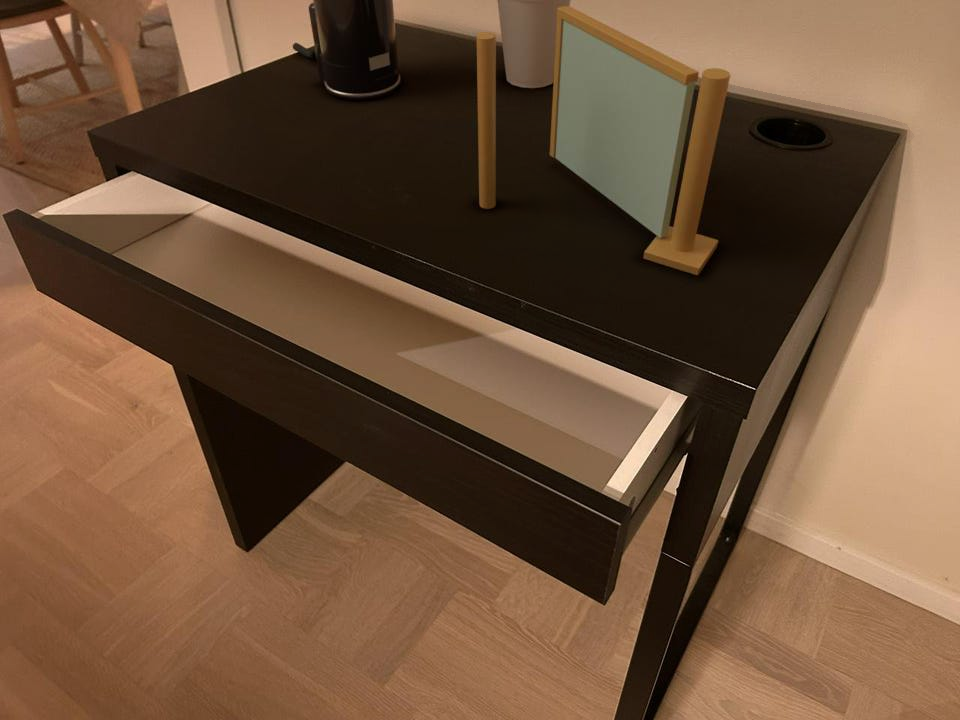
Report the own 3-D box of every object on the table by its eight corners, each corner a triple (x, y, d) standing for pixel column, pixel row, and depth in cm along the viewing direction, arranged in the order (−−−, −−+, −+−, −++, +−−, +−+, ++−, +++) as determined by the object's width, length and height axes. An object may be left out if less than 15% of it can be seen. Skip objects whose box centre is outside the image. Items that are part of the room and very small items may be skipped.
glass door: (669, 235, 66) (699, 71, 57) (658, 239, 66) (687, 74, 56) (559, 152, 78) (568, 5, 68) (549, 155, 78) (557, 7, 68)
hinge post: (717, 247, 67) (759, 68, 56) (697, 276, 64) (739, 92, 53) (664, 231, 69) (695, 56, 58) (642, 259, 66) (672, 78, 55)
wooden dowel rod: (498, 203, 73) (499, 34, 62) (490, 210, 72) (489, 40, 61) (484, 198, 73) (482, 30, 63) (476, 206, 72) (472, 36, 62)
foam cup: (532, 58, 100) (536, -50, 91) (583, 78, 95) (592, -34, 86) (478, 77, 96) (477, -34, 87) (528, 99, 90) (532, -16, 82)
